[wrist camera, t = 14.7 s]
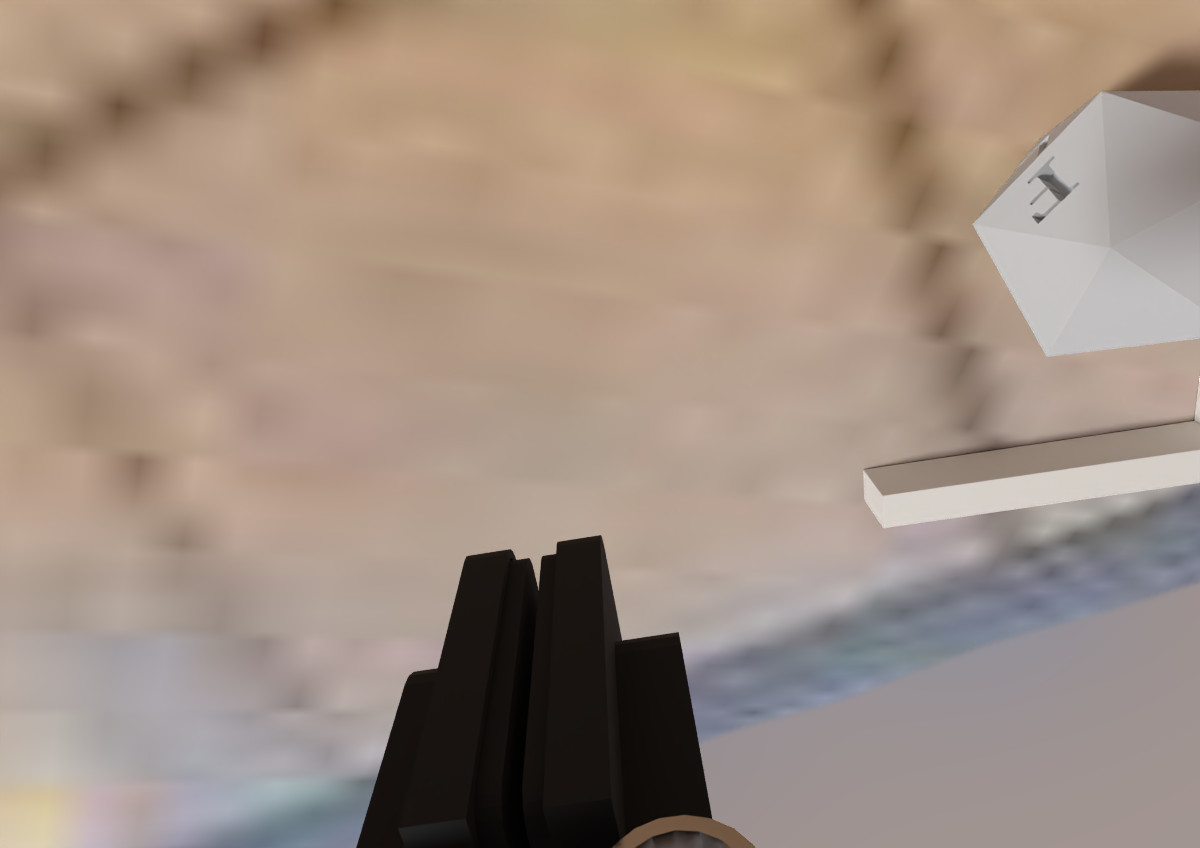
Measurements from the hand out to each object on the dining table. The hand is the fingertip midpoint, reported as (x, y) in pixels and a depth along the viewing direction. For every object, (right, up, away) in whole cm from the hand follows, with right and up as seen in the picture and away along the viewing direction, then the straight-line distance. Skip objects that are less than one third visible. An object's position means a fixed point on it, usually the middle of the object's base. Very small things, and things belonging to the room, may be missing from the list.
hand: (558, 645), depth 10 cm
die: (+18, +11, +21) cm, 30 cm away
